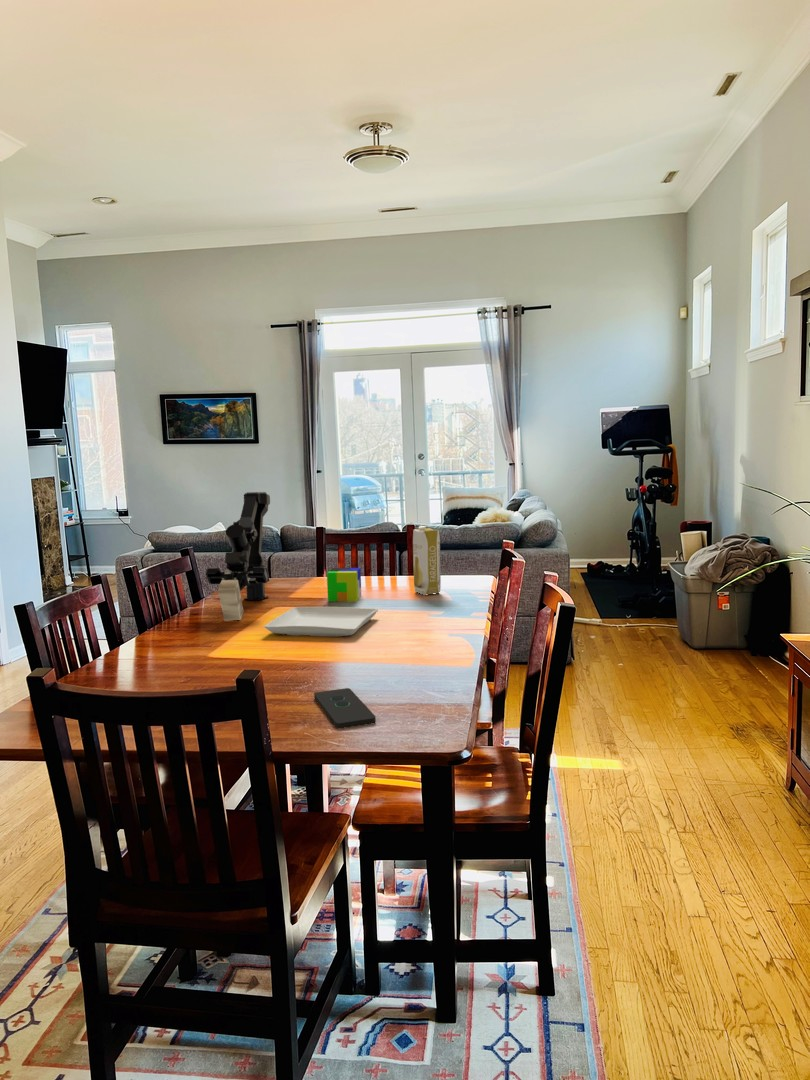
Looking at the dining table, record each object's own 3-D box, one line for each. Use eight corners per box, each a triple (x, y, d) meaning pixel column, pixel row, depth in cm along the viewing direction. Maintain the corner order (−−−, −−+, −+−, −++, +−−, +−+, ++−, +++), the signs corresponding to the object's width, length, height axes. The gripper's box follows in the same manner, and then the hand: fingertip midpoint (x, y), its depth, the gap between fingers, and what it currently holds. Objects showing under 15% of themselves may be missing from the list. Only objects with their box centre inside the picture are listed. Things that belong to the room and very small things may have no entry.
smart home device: (349, 687, 172) (377, 716, 153) (350, 694, 172) (377, 725, 153) (312, 692, 169) (335, 723, 150) (312, 699, 169) (336, 731, 150)
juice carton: (411, 592, 282) (410, 525, 278) (431, 589, 285) (430, 524, 282) (423, 596, 273) (421, 528, 270) (443, 594, 276) (442, 526, 273)
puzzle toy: (361, 595, 278) (360, 567, 277) (356, 601, 268) (355, 572, 267) (333, 595, 279) (332, 568, 278) (328, 601, 269) (326, 573, 268)
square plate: (356, 641, 217) (355, 627, 216) (262, 638, 222) (261, 625, 222) (379, 618, 243) (378, 606, 242) (294, 617, 248) (294, 605, 248)
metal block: (227, 611, 248) (221, 580, 241) (243, 611, 247) (237, 579, 241) (224, 621, 243) (218, 589, 237) (240, 621, 243) (234, 589, 237)
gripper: (205, 542, 248) (197, 583, 239) (264, 541, 248) (258, 582, 238) (213, 563, 257) (205, 603, 248) (270, 562, 257) (264, 602, 247)
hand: (233, 597), depth 245 cm, fingers closed
